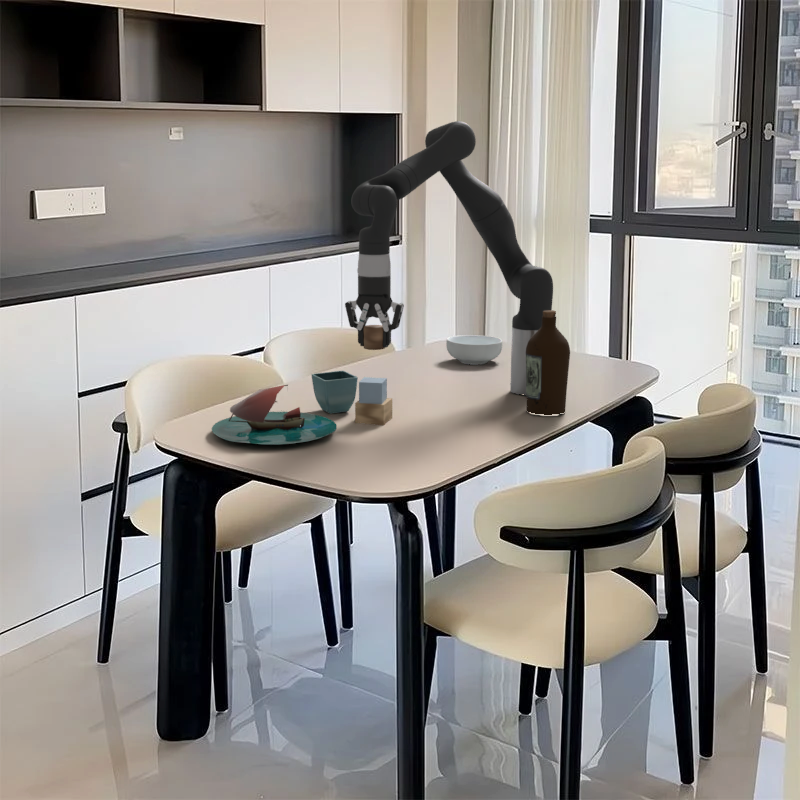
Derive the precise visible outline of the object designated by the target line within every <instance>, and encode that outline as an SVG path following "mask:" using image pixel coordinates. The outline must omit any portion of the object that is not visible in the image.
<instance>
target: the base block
mask: <svg viewBox="0 0 800 800" xmlns="http://www.w3.org/2000/svg"><path fill="white" fill-rule="evenodd" d="M354 409H355V410H354V412H355V413H354V414H355V415H354V416H355V417H354V419H355V420H354V422H355V424H361V423H365V424H364V425H374V424H375V426H377V425H378V426H385V425H386V424H387V423H388V422H389V421H391V420H392V419H393V398H391V397H387V399H386V400H385V401H384V403H383V404H369V403H359V400H357V401H356V402H355V403H354Z"/></svg>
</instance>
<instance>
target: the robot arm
mask: <svg viewBox="0 0 800 800" xmlns="http://www.w3.org/2000/svg"><path fill="white" fill-rule="evenodd" d="M476 139H477V138H476V135H475V131H474V130H473V128H472V127H471V126H470V125H469V124H468V123H466V122H465V121H461V120H460V121H458V120H456V121H452V122H448V123H446V124H443V125H440V126H437V127H435V128H433V129H431V130H430V131H428V132H427V134H426V136H425V140H424V141H425V142H424V143H425V144H424V145H425V148H424V149H422V150H421V151H419V152H416V153H414V154H412V155H410V156H409V157H407V158H405V159H404V160H402V161H400V162H399V163H397V164H396V165H395V166H393V167H392V168H390V169H389V170H388V171H387V172H386V173H383V174H380V175H378V176H375V177H373V178H371V179H368V180H366V181H364V182H362V183H360V185H358V186H357V187H356V188H355V190H354V191H353V192H352V195H351V199H350V200H351V201H350V202H351V207H352V209H353V210H354V212H355V213H356V214H358V215H360V216H364V217H373V219H372V221H371V225H370V226H366V227H363V228H361V229H360V230H359V234H358V260H357V269H356V271H357V298H356V300H348V301H346V302H345V303H344V308H345V311H346V315H347V319H348V323H349V327H350V328H354V329H356V331H357V342H358V344H360V347H364V326H366V325H367V323H368V320H369V319H370V318H375V319H379V322H380V323H381V325H382V326H383V329H384V332H383V347H385V349H386V348H388V347H389V346H390V345H391V343H392V331H393V330H396V329H398V328H399V327H400V324H401V319H402V314H403V311H404V307H405V304H404V303H403V302H400V303H398V302H395V301H393V300H392V296H391V295H392V294H391V292H392V291H391V290H392V289H391V287H392V286H391V284H392V283H391V282H392V280H391V279H392V278H391V277H392V275H391V274H392V273H391V269H392V268H391V267H392V265H391V256H390V255H391V254H390V249H391V248H390V243H391V242H390V241H391V240H390V237H391V232H392V228H393V225H394V221H395V217H396V212H397V207H398V201H400V200H402V199H403V198H405V197H407V196H408V195H410V194H411V193H412V192H413V191H415V190H416V189H417V188H419V187H420V186H421V185H422V184H423V183H425V182H426V181H428V180H429V179H430V178H432V177H433V176H434V175H436V174H437V173H440V174H441V175H442V178H444V179H445V181H446V182H447V183H448V184H449V186H450V188H451V189H452V191H453V192H454V194H455V196H456V197H457V199H458V201H459V202H460V203H461V205H462V206H463V208H464V210H465V212H466V213H467V215H468V217H469V219H470V221H471V222H472V225H473V226H474V228H475V230H476V231H477V232H478V234H479V235H480V237H481V238H482V240H483V242H484V244H485V245H486V247H487V248H488V250H489V251H490V253H491V255H492V256H493V257H494V259H495V262H496V264H498V267H499V270H500V271H501V274H502V275H503V279H504V280H505V282H506V284H507V287H508V289H509V291H510V292H511V294H512V295H513V296H514V297H516V298H517V299H519V306H518V307H519V310H518V312H517V314H515V315H513V317H512V321H511V324H512V325H511V354H510V355H511V358H510V384H509V385H510V390H509V391H510V393H512V394H514V393H516V394H515V395H519V394H524V395H523V396H526V347H527V344H528V341H529V339H530V338H531V337H532V336H533V335H534V334H535V333H536V332H537V331H538V330H539V329H540V328H541V326H542V316H543V311H544V310H552V309H553V296H554V281H553V276H552V275H551V273H550V272H549V271H548V270H547V269H546V268H543V267H541V266H536V265H533V264H532V263H531V262H530V261H529V259H528V258H527V256H526V255H525V253H524V252H523V250H522V249H521V246H520V245H519V241H518V240H517V234H516V228H515V223H514V219H513V218H512V217H513V216H512V215H511V213H510V211H509V209H508V207H507V206H506V204H505V202H504V200H503V199H502V197H501V196H500V194H498V193H497V191H495V190H494V189H493V188H491V186H489V185H487V184H486V183H484V182H483V181H482V180H480V179H478V177H476V176H474V174H472V172H471V171H470V170H469V169H468V168H467V167H466V165H465V164H464V162H463V160H464V159H466V158H468V157H469V156H471V154H472V153H473V152H474V150H475V147H476V142H477V141H476ZM357 307H358V308H359V310H360V312H361V314H360V316H359V320H358V318H357V314H356V309H357ZM390 308H392V312H393V318H392V321H390V317H389V314H388V311H389V309H390Z"/></svg>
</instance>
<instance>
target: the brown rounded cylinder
mask: <svg viewBox="0 0 800 800" xmlns="http://www.w3.org/2000/svg"><path fill="white" fill-rule="evenodd" d="M383 332H384V329H383V326H382V324H368V325H367V324H366V325H365V326H364V346H363V349H364V350H369V351H370V350H371V351H375V350H377V351H379V350H380V351H381V350H385V349H386V348H385V347H383Z"/></svg>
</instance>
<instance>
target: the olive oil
mask: <svg viewBox="0 0 800 800" xmlns="http://www.w3.org/2000/svg"><path fill="white" fill-rule="evenodd" d="M556 314H557V311H556V310H544V311H543V316H542V326H541V328H540V329H539V330H538V331H537V332H536V333H535V334H534V335H533V336H532V337H531V338H530V339H529V341H528V344H527V347H526V395H525V396H526V405H525V406H526V410H527V411H528V412H531V413H535V414H544V415H552V414H560V413H564V412H565V413H566V406H567V389H568V381H569V380H568V379H569V368H570V357H571V348H570V344H569V342H568V339H567V338H566V337H565V335H564V334H562V332H561V331H560V330H559V329H558V327H557V326H556V324H557V316H556ZM526 410H525V411H526ZM527 411H526V412H527ZM565 413H564V414H565Z"/></svg>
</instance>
